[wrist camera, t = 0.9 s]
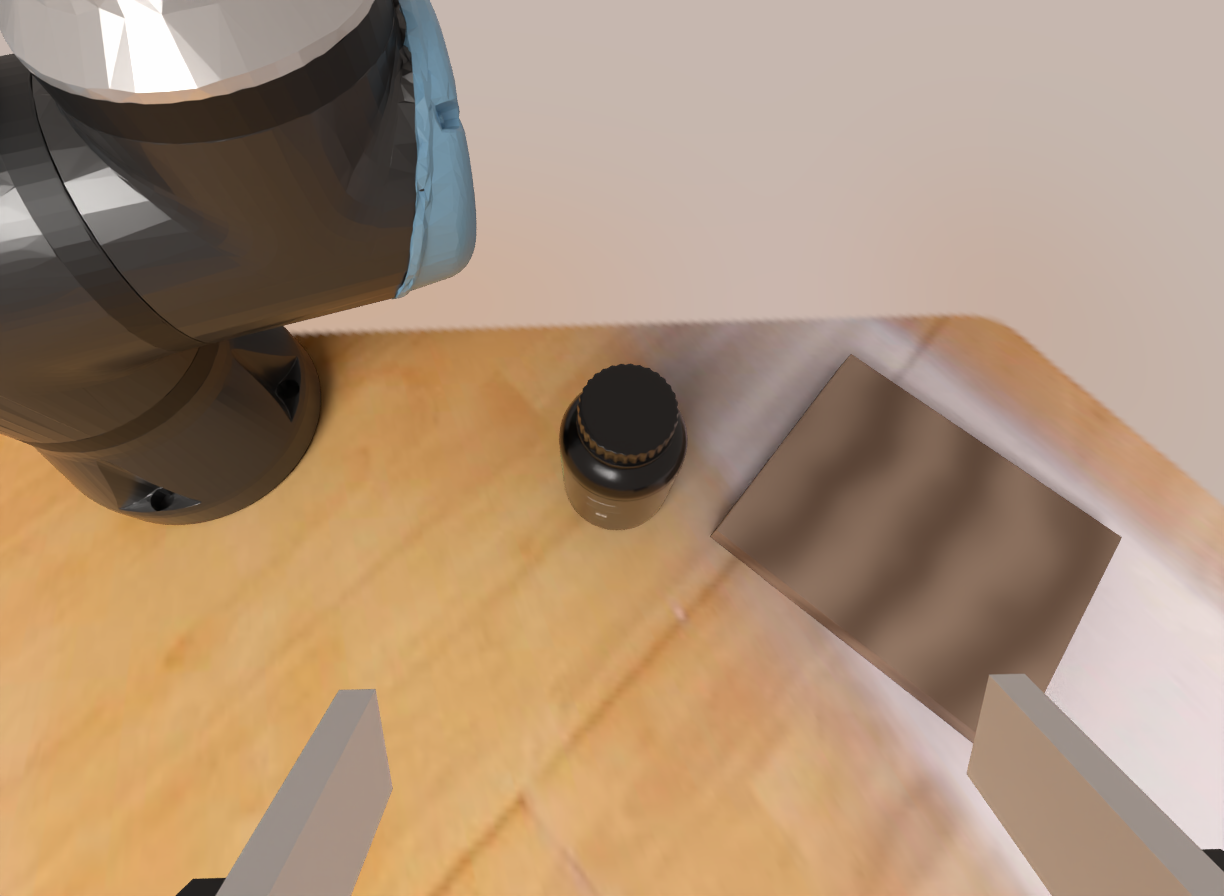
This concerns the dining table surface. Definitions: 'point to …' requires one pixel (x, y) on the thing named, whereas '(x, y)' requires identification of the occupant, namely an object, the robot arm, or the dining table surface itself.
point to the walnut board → (918, 545)
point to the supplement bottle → (622, 446)
